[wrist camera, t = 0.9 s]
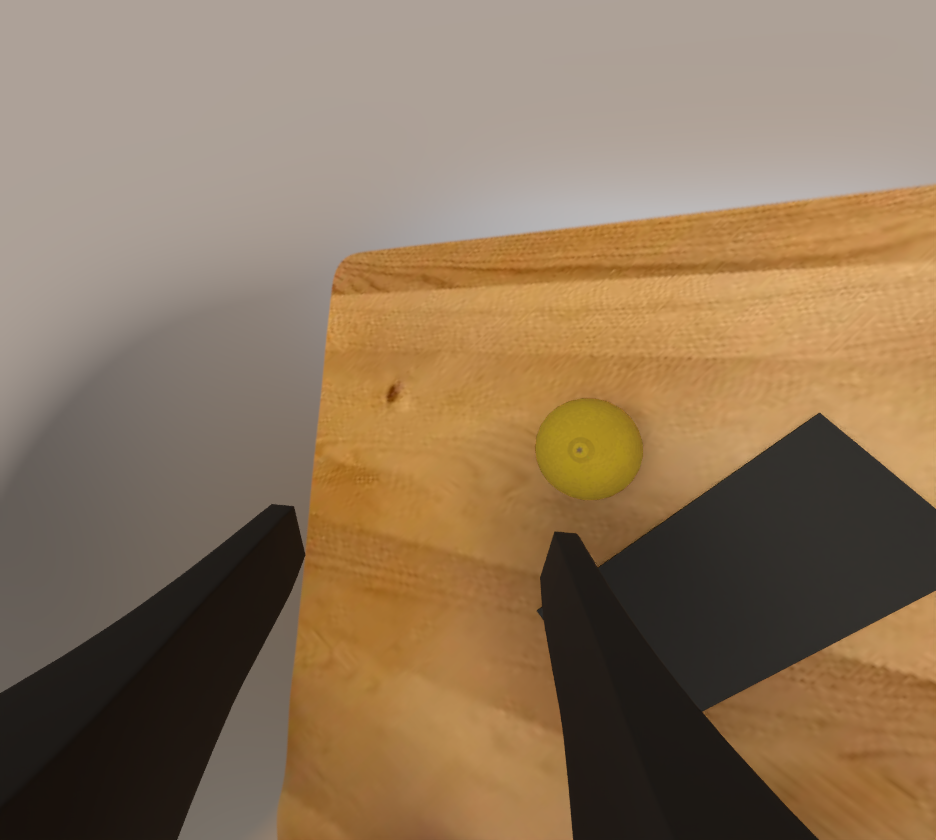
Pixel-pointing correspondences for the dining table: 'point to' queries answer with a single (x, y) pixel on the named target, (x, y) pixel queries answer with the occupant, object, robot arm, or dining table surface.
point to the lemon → (589, 449)
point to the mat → (776, 563)
